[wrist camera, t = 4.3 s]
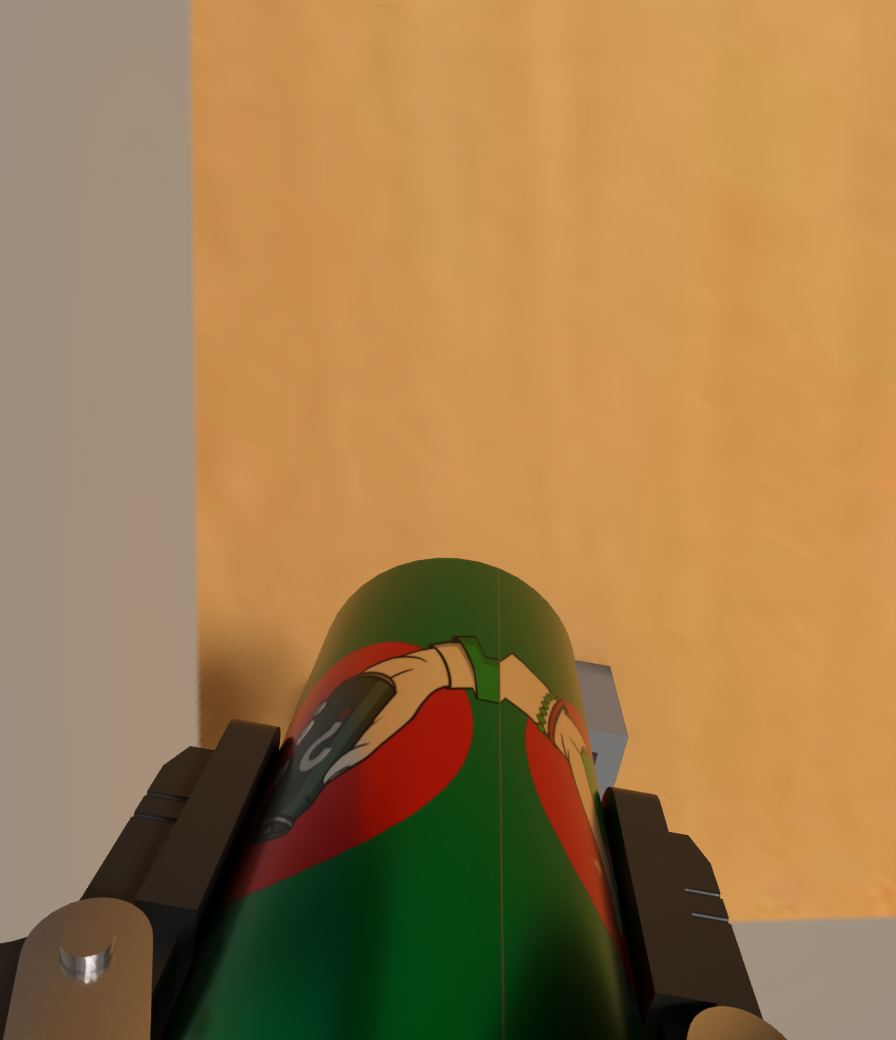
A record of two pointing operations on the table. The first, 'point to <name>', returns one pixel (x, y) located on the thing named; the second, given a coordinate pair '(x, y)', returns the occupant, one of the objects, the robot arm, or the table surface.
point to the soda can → (424, 838)
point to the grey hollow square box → (602, 721)
